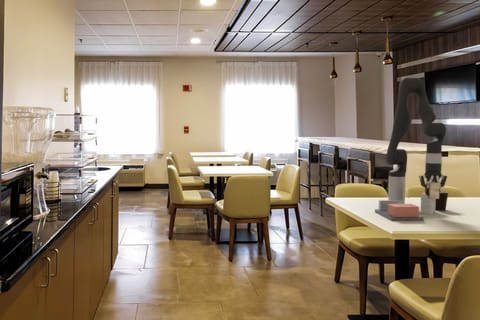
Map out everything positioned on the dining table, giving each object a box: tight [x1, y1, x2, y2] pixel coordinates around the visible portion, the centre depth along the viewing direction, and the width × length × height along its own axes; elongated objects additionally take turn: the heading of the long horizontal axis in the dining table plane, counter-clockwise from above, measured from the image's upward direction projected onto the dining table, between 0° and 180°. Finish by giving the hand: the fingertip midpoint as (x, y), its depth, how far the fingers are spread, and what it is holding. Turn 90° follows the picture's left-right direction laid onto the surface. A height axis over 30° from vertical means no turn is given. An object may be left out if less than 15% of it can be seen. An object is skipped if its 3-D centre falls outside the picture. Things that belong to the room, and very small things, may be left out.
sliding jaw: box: [388, 203, 420, 217], centre depth 219 cm, size 9×12×5 cm
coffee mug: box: [435, 190, 449, 212], centre depth 243 cm, size 12×9×10 cm
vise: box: [374, 199, 425, 222], centre depth 225 cm, size 24×16×6 cm
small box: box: [420, 191, 436, 215], centre depth 235 cm, size 8×6×10 cm
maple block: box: [426, 182, 440, 199], centre depth 223 cm, size 5×4×8 cm
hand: (432, 195), depth 224 cm, fingers closed on maple block, 4 cm apart
